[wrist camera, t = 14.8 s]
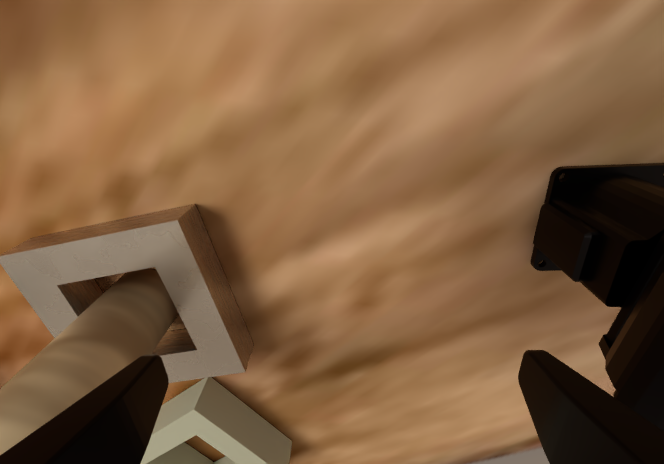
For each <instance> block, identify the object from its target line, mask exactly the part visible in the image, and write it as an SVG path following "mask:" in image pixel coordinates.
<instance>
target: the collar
mask: <svg viewBox="0 0 664 464" xmlns="http://www.w3.org/2000/svg"><path fill="white" fill-rule="evenodd" d="M195 435H197V436H198V437H200V438H201V439H203V440H204V441H205V442H207V443H208V444H210V445H211V446H213V447H214V448H215V449H217V450H218V451H220V452H221V453H222V454H224V455H225V457H223V458H221V459H219V460H218V461H216V462H213V461H211V460H210V459H208V458H207V457H205V456H204V455H202V454H201V453H199V452H198V451H197V450H195V449H194V448H192V447H191V446H189V445H188V444H186V443H185V441H186V440H188V439H190V438H192V437H193V436H195ZM291 447H292V441H291V440H290V439H289V438H287V437H286V436H285V435H284V434H282V433H281V432H280V431H279V430H277V429H276V428H275V427H274V426H272V425H271V424H270V423H268V422H267V421H266V420H265V419H263V418H262V417H261V416H260V415H258V414H257V413H256V412H255V411H253V410H252V409H251V408H249V407H248V406H247V405H246V404H244V403H243V402H242V401H241V400H239V399H238V398H237V397H236V396H234V395H233V394H232V393H231V392H229V391H228V390H227V389H225V388H224V387H223V386H222V385H220V384H219V383H218V382H217V381H215V380H214V379H213V378H212V377H207V378H204V379H202V380H201V381H199V382H198V383H196V384H195V385H193V386H191V387H190V388H188V389H187V390H185V391H184V392H182V393H180V394H179V395H177V396H176V397H174V398H173V399H171V400H170V401H168V402H166V403H165V404H163V405H162V406H161V409H160V412H159V415H158V418H157V421H156V424H155V426H154V429H153V432H152V435H151V438H150V441H149V444H148V446H147V449H146V452H145V454H144V456H143V459H142V461H141V463H140V464H289V461H290V454H291Z"/></svg>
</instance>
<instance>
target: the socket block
mask: <svg viewBox="0 0 664 464" xmlns="http://www.w3.org/2000/svg"><path fill="white" fill-rule="evenodd" d="M0 264H1V265H2V267H3V268H4V269H5V271H6V272H7V273H8V275H9V276H10V278H11V279H12V280H13V282H14V283H15V284H16V286H17V287H18V289H19V290H20V291H21V293H22V294H23V295H24V297H25V298H26V300H27V301H28V302H29V304H30V305H31V306H32V308H33V309H34V311H35V312H36V313H37V315H38V316H39V317H40V319H41V320H42V322H43V323H44V324H45V326H46V327H47V328H48V330H49V331H50V333H51V334H52V335H53V337H54V338H56V337H57V336H58V335H59V334H60V333H61V332H62V331H63V330H64V329H66V328H67V327H68V326H69V325H70V324H71V323H72V322H73V321H74V320H75V319H76V318H77V317H79V316H80V315H81V314H82V313H83V312H84V311H85V310H86V309H87V308H88V307H89V306H90V305H92V304H93V303H94V302H95V301H96V300H97V299H98V298H99V297H100V296H101V295H102V294H103V293H102V291H101V289H100V288H99V286H98V285H97V283H96V281H95V280H94V278H99V277H104V276H109V275H115V274H120V273H125V272H131V271H136V270H141V269H147V268H152V267H155V268H156V270H157V272H158V274H159V276H160V278H161V280H162V282H163V284H164V285H165V287H166V289H167V291H168V293H169V295H170V297H171V299H172V301H173V303H174V305H175V307H176V309H177V311H178V313H179V315H180V317H181V319H182V321H183V323H184V325H185V327H186V329H180V330H174V331H168V332H166V333H165V334H164V336H163V337H162V339H161V340H160V342H159V343H158V345H157V346H156V348H155V349H154V351H153V352H152V353H151V355H159V356H160V357H161V358H162V361H163V363H164V366H165V369H166V372H167V375H168V380H169V383H172V382H179V381H186V380H193V379H200V378H207V377H214V376H221V375H228V374H235V373H243V372H246V369H247V366H248V362H249V359H250V356H251V353H252V350H253V347H254V344H253V342H252V339H251V337H250V334H249V332H248V330H247V327H246V325H245V322H244V320H243V318H242V315H241V313H240V310H239V308H238V305H237V303H236V301H235V298H234V296H233V293H232V291H231V289H230V286H229V284H228V281H227V279H226V277H225V274H224V272H223V269H222V267H221V264H220V262H219V260H218V257H217V255H216V252H215V250H214V248H213V245H212V243H211V240H210V238H209V236H208V233H207V231H206V228H205V226H204V224H203V221H202V219H201V216H200V214H199V211H198V209H197V207H196V204H193V205H188V206H183V207H178V208H174V209H169V210H164V211H159V212H154V213H150V214H145V215H140V216H135V217H130V218H126V219H121V220H116V221H111V222H106V223H102V224H97V225H92V226H87V227H82V228H78V229H73V230H68V231H63V232H58V233H54V234H49V235H44V236H39V237H34V238H31V239H29V240H27V241H25V242H23V243H21V244H19V245H17V246H16V247H14V248H12V249H10V250H8V251H6V252H4V253H3V254H1V255H0Z"/></svg>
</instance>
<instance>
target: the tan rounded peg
mask: <svg viewBox="0 0 664 464" xmlns="http://www.w3.org/2000/svg"><path fill="white" fill-rule="evenodd" d="M178 314H179V313H178V311H177V309H176V307H175V305H174V303H173V301H172V299H171V297H170V295H169V293H168V291H167V289H166V287H165V285H164V284H163V282H162V280H161V278H160V276H159V274H158V272H157V270H154V269H150V268H147V269H141V270H136V271H131V272H127V273H125V274H124V275H123V276H122V277H121V278H120V279H119V280H118V281H116V282H115V283H114V284H113V285H112V286H111V287H110V288H109V289H108V290H107V291H106V292H105V293H103V294H102V295H101V296H100V297H99V298H98V299H97V300H96V301H95V302H94V303H93V304H92V305H90V306H89V307H88V308H87V309H86V310H85V311H84V312H83V313H82V314H81V315H80V316H79V317H77V318H76V319H75V320H74V321H73V322H72V323H71V324H70V325H69V326H68V327H67V328H66V329H64V330H63V331H62V332H61V333H60V334H59V335H58V336H57V337H56V338H55V339H54V340H53V341H51V342H50V343H49V344H48V345H47V346H46V347H45V348H44V349H43V350H42V351H41V352H40V353H38V354H37V355H36V356H35V357H34V358H33V359H32V360H31V361H30V362H29V363H28V364H27V365H25V366H24V367H23V368H22V369H21V370H20V371H19V372H18V373H17V374H16V375H15V376H13V377H12V378H11V379H10V380H9V381H8V382H7V383H6V384H5V385H4V386H3V387H2V388H0V455H1V454H3V453H4V452H6V451H7V450H8V449H10V448H11V447H13V446H14V445H16V444H17V443H18V442H20V441H21V440H23V439H24V438H25V437H27V436H28V435H30V434H31V433H33V432H34V431H35V430H37V429H38V428H40V427H41V426H42V425H44V424H45V423H47V422H48V421H50V420H51V419H52V418H54V417H55V416H57V415H58V414H59V413H61V412H62V411H64V410H65V409H67V408H68V407H69V406H71V405H72V404H74V403H75V402H76V401H78V400H79V399H81V398H82V397H84V396H85V395H86V394H88V393H89V392H91V391H92V390H93V389H95V388H96V387H98V386H99V385H101V384H102V383H103V382H105V381H106V380H108V379H109V378H110V377H112V376H113V375H115V374H116V373H118V372H119V371H120V370H122V369H123V368H125V367H126V366H127V365H129V364H130V363H132V362H133V361H134V360H136V359H137V358H139V357H140V356H142V355H151V353H152V352H153V351H154V349H155V348H156V346H157V345H158V343H159V342H160V340H161V339H162V337H163V336H164V334H165V333H166V331H167V330H168V329H169V327H170V326H171V324H172V323H173V321H174V320H175V318H176V317H177V315H178Z"/></svg>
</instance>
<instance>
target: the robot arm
mask: <svg viewBox="0 0 664 464" xmlns="http://www.w3.org/2000/svg"><path fill="white" fill-rule="evenodd" d="M563 173H565V175H564V177H563V178H562V179H560V180H559V177H560V175H561V174H563ZM663 174H664V163H653V164H624V165H595V166H566V167H558V168H556V169H555V170H554V171H553V172H552V174H551V176H550V181H549V185H548V189H547V193H546V198H545V202H544V204H543V205H542V207H541V210H540V215H539V219H538V223H537V228H536V232H535V236H534V241H533V244H534V249H533V253H532V257H531V265H532V266H533V267H534V268H535V269H536V270H539V271H550V270H562V271H563V272H564V273H565V274H566V275H568V276H569V277H570V278H571V279H572V280H573V281H575V282H581V283H582V284H583V285H584V286H585V287H586V288H587V289H588V290H590V291H591V292H592V293H593V294H594V295H595V296H596V297H597V298H598V299H600V300H601V301H602V302H603V303H604V304H605V305H606V306H608V307H621V310H620V312H619V313H618V315H617V317H616V319H615V321H614V322H613V324H612V326H611V328H610V330H609V331H608V333H607V334H604V335H603V337H602V338H601V340H600V342H599V346H600V348H601V350H602V353H603V355H604V357H605V359H606V366H605V369H606V371H607V373H608V376H609V378H610V380H611V382H612V384H613V386H614V388H615V389H616V390H615V392H614V394H613V396H614V397H613V396H611V395H610V394H608V393H607V392H605V391H604V390H602V389H601V388H599V387H598V386H597V385H595V384H594V383H592V382H591V381H589V380H588V379H586V378H585V377H583V376H582V375H580V374H579V373H577V372H576V371H574V370H573V369H571V368H570V367H569V366H567V365H566V364H564V363H563V362H561V361H560V360H558V359H557V358H555V357H554V356H552V355H551V354H549V353H548V352H546V351H544V350H527V351H526V352H525V353H524V355H523V359H522V362H521V366H520V370H519V375H518V380H519V385H520V388H521V390H522V393H523V396H524V398H525V401H526V404H527V407H528V409H529V412H530V415H531V418H532V420H533V423H534V426H535V429H536V431H537V434H538V437H539V439H540V442H541V445H542V447H543V450H544V452H545V454H546V456H547V458H548V461H549V463H550V464H664V176H663ZM542 260H543V261H542ZM540 261H542V263H540V264H538V263H539V262H540ZM168 383H169V380H168V375H167V372H166V369H165V366H164V363H163V361H162V358H161V357H160V356H159V355H142V356H140V357H139V358H137V359H136V360H134V361H133V362H132V363H130V364H129V365H127V366H126V367H125V368H123V369H122V370H120V371H119V372H118V373H116V374H115V375H113V376H112V377H110V378H109V379H108V380H106V381H105V382H103V383H102V384H101V385H99V386H98V387H96V388H95V389H93V390H92V391H91V392H89V393H88V394H86V395H85V396H84V397H82V398H81V399H79V400H78V401H76V402H75V403H74V404H72V405H71V406H69V407H68V408H67V409H65V410H64V411H62V412H61V413H59V414H58V415H57V416H55V417H54V418H52V419H51V420H50V421H48V422H47V423H45V424H44V425H42V426H41V427H40V428H38V429H37V430H35V431H34V432H33V433H31V434H30V435H28V436H27V437H25V438H24V439H23V440H21V441H20V442H18V443H17V444H16V445H14V446H13V447H11V448H10V449H8V450H7V451H6V452H4V453H3V454H1V455H0V464H140V463H141V461H142V459H143V456H144V454H145V452H146V449H147V446H148V444H149V441H150V438H151V435H152V432H153V429H154V426H155V424H156V421H157V418H158V415H159V412H160V409H161V406H162V403H163V400H164V397H165V394H166V391H167V388H168Z"/></svg>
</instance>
